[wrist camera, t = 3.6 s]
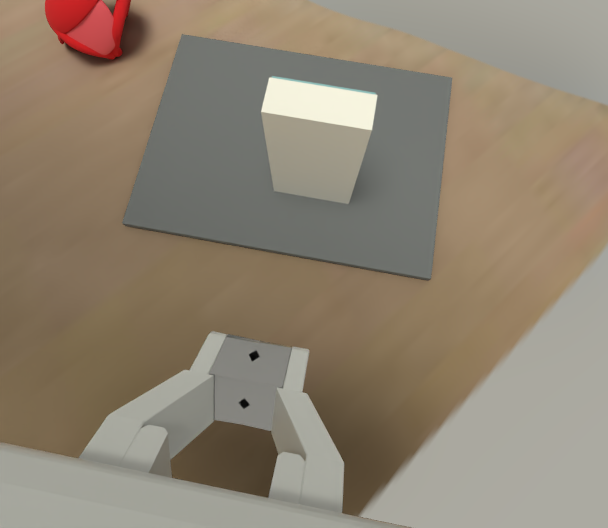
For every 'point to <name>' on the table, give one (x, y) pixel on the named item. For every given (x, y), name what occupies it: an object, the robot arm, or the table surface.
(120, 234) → the table surface
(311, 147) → the tile
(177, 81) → the mat
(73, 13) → the red rounded piece
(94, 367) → the table surface
